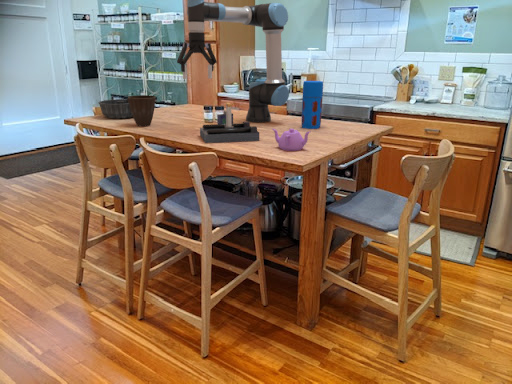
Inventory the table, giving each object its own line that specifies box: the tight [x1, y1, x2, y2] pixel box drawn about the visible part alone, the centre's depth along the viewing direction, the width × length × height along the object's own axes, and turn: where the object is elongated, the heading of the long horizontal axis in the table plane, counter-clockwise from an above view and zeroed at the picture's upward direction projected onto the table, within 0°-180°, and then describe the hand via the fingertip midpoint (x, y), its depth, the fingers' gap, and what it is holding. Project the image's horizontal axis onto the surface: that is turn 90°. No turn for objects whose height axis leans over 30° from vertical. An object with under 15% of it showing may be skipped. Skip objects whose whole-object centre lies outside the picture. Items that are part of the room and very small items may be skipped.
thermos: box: [301, 80, 324, 130], centre depth 229 cm, size 11×11×25 cm
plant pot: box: [127, 94, 157, 127], centre depth 231 cm, size 15×15×16 cm
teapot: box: [272, 128, 311, 152], centre depth 182 cm, size 12×14×9 cm
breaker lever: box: [225, 102, 233, 126], centre depth 200 cm, size 2×5×13 cm, turn 15°
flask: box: [216, 109, 234, 124], centre depth 220 cm, size 9×3×11 cm, turn 121°
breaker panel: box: [199, 121, 260, 144], centre depth 202 cm, size 26×18×6 cm
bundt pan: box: [97, 98, 133, 120], centre depth 259 cm, size 26×26×10 cm
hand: (197, 78), depth 201 cm, fingers open, 13 cm apart
